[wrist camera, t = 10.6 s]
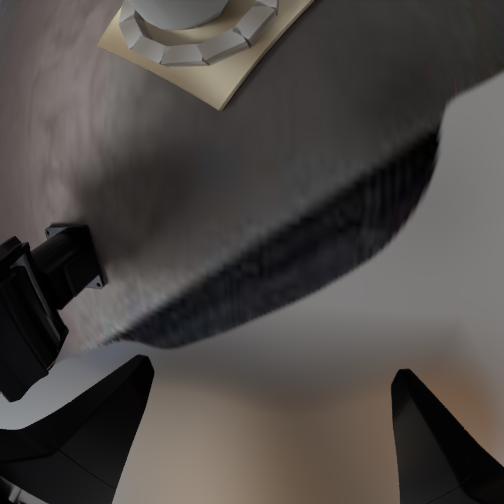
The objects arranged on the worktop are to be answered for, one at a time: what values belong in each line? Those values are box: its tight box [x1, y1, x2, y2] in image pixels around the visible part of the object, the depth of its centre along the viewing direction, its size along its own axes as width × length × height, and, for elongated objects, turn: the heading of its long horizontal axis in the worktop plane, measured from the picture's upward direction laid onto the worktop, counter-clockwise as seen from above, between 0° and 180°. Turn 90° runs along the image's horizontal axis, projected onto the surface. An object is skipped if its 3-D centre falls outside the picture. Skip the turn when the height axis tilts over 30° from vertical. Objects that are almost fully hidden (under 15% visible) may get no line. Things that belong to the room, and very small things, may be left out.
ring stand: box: [97, 0, 315, 111], centre depth 11 cm, size 12×12×2 cm
